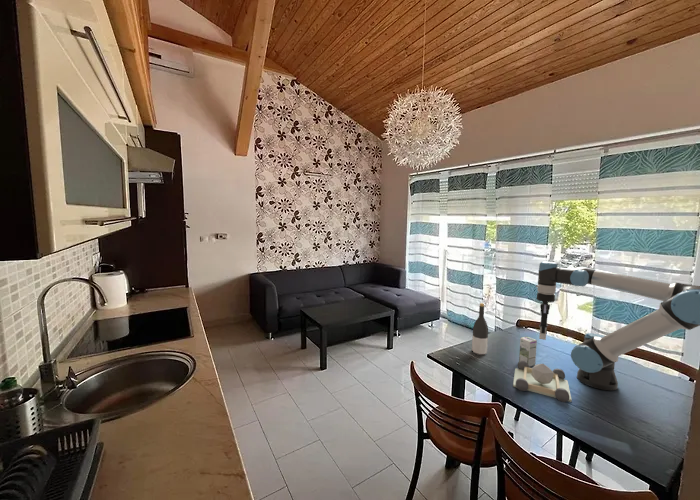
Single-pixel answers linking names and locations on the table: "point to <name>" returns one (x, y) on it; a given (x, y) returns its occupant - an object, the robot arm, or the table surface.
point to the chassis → (554, 389)
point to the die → (542, 374)
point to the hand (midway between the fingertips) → (542, 338)
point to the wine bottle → (480, 333)
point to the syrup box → (528, 350)
